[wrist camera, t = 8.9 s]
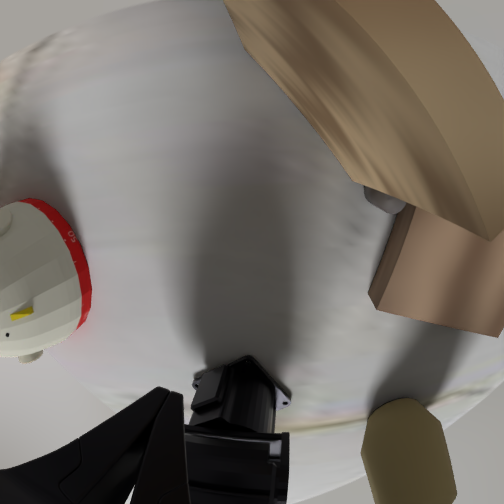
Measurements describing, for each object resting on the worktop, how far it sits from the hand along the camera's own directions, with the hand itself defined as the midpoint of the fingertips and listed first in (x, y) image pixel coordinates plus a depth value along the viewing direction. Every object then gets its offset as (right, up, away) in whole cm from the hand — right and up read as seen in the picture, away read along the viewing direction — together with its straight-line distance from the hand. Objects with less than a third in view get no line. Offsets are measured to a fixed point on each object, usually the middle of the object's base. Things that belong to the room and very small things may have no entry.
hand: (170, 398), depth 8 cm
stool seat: (+19, +6, +9) cm, 22 cm away
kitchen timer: (-18, +3, +15) cm, 24 cm away
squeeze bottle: (+17, -12, +16) cm, 26 cm away
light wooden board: (+7, +13, +8) cm, 17 cm away
